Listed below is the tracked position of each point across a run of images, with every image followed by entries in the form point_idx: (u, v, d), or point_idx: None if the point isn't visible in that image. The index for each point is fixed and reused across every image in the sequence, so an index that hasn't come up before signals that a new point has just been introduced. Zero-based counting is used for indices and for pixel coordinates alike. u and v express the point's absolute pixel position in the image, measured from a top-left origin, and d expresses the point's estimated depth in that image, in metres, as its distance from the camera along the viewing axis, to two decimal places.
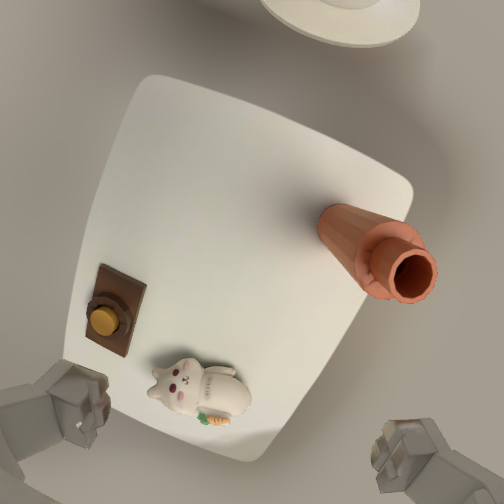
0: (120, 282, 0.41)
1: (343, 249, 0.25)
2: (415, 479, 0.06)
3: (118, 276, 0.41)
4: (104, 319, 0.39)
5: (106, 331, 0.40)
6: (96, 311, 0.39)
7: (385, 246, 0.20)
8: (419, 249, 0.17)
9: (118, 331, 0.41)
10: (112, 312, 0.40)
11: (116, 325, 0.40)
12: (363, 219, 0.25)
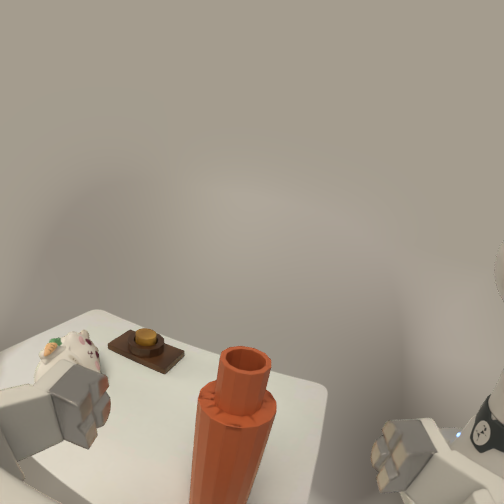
0: (170, 358, 0.53)
1: None
2: (415, 479, 0.06)
3: (175, 358, 0.54)
4: (148, 335, 0.54)
5: (138, 333, 0.54)
6: (155, 333, 0.55)
7: None
8: (270, 363, 0.21)
9: (134, 342, 0.52)
10: (151, 343, 0.53)
11: (141, 342, 0.52)
12: None
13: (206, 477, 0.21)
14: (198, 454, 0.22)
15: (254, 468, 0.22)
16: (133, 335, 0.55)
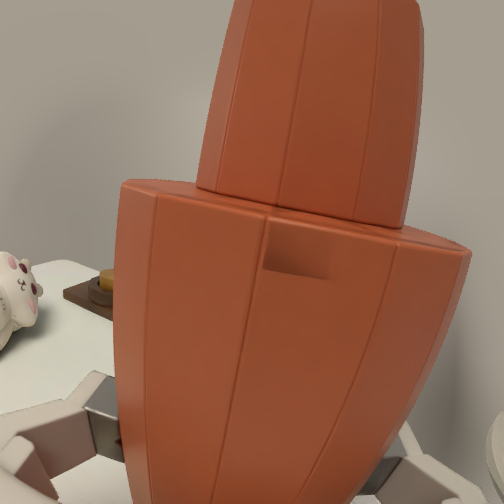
0: None
1: None
2: (386, 483, 0.06)
3: None
4: None
5: (103, 273, 0.37)
6: None
7: None
8: None
9: (97, 286, 0.36)
10: None
11: (106, 284, 0.36)
12: None
13: None
14: (130, 467, 0.05)
15: None
16: (98, 278, 0.38)
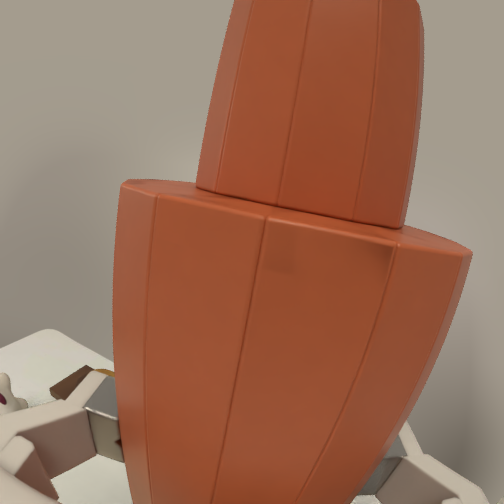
0: None
1: None
2: (386, 483, 0.06)
3: None
4: None
5: None
6: None
7: None
8: None
9: None
10: None
11: None
12: None
13: None
14: (130, 468, 0.05)
15: None
16: None
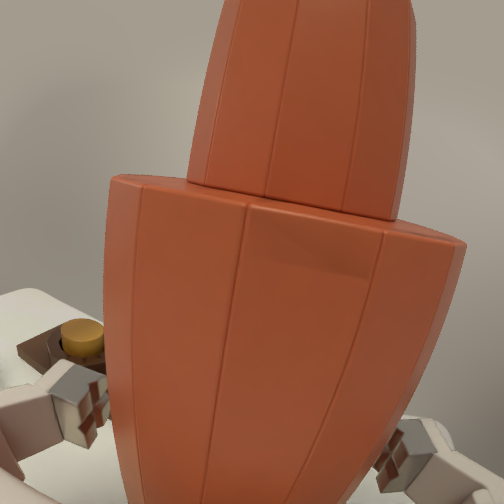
0: None
1: None
2: (415, 479, 0.06)
3: None
4: (86, 333, 0.23)
5: (67, 328, 0.23)
6: (102, 329, 0.24)
7: None
8: None
9: (58, 347, 0.22)
10: (90, 350, 0.22)
11: (69, 347, 0.22)
12: None
13: None
14: (123, 464, 0.05)
15: None
16: None
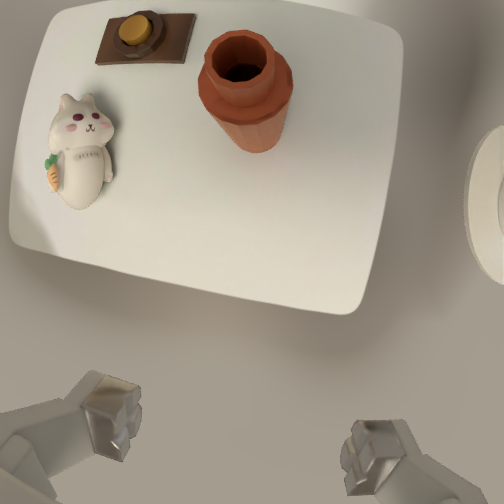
0: (181, 36, 0.32)
1: None
2: (385, 483, 0.06)
3: (187, 33, 0.32)
4: (138, 28, 0.29)
5: (123, 34, 0.29)
6: (145, 19, 0.28)
7: None
8: (273, 54, 0.14)
9: (126, 46, 0.31)
10: (146, 35, 0.30)
11: (133, 42, 0.30)
12: None
13: (237, 138, 0.26)
14: (221, 126, 0.24)
15: (282, 122, 0.24)
16: (118, 34, 0.30)
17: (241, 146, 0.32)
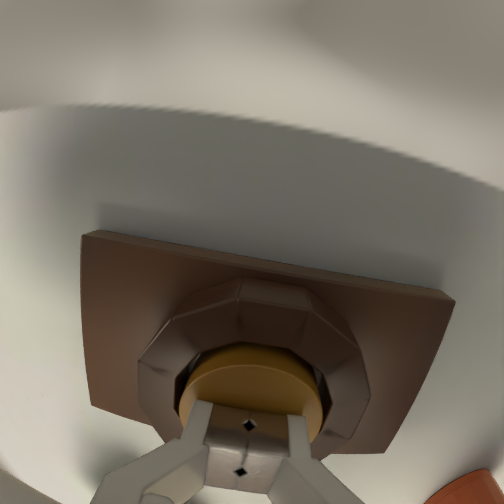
0: (400, 393, 0.10)
1: None
2: (276, 483, 0.06)
3: (421, 381, 0.10)
4: None
5: None
6: (309, 397, 0.07)
7: None
8: None
9: None
10: None
11: None
12: None
13: None
14: None
15: None
16: (160, 397, 0.08)
17: None
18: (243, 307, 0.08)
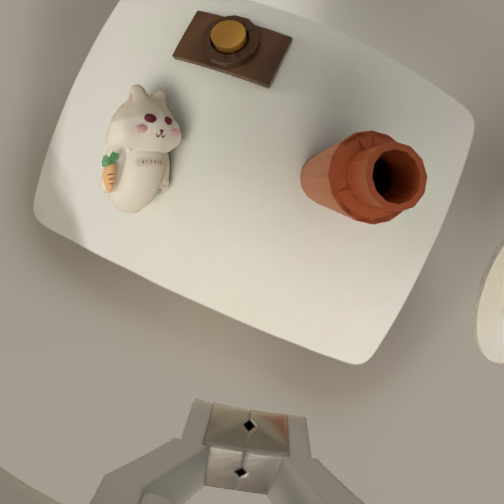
0: (273, 59, 0.32)
1: None
2: (276, 483, 0.06)
3: (281, 57, 0.32)
4: (233, 37, 0.29)
5: (216, 37, 0.29)
6: (243, 28, 0.29)
7: None
8: (424, 183, 0.15)
9: (214, 51, 0.31)
10: (240, 46, 0.30)
11: (224, 50, 0.30)
12: None
13: (325, 204, 0.27)
14: (320, 194, 0.24)
15: None
16: (207, 34, 0.30)
17: (313, 199, 0.33)
18: (234, 16, 0.29)
